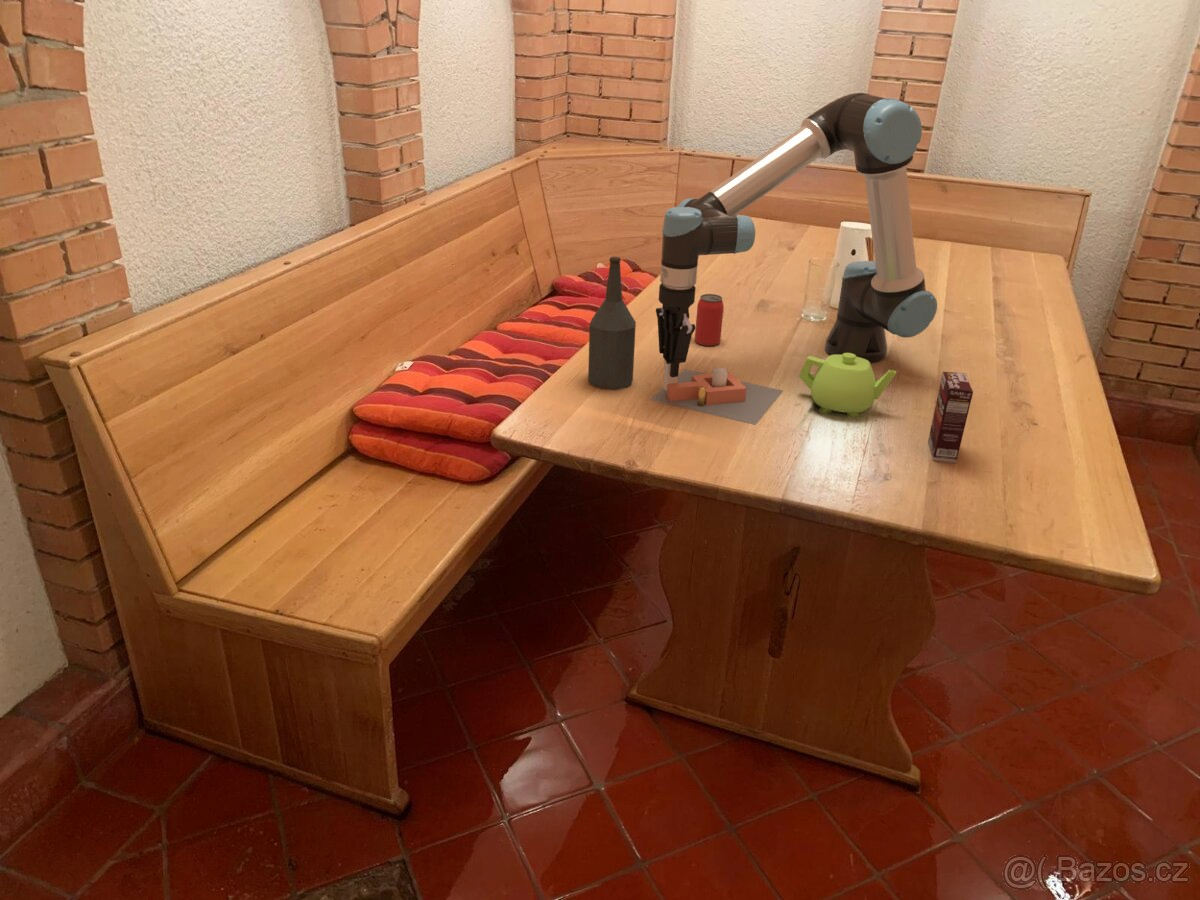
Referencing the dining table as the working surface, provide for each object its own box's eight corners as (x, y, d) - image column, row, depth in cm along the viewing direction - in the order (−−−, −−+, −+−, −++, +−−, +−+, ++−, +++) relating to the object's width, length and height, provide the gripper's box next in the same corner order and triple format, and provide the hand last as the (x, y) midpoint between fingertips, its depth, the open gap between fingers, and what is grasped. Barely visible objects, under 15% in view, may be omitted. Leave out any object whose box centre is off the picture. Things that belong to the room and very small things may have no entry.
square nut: (728, 384, 206) (729, 371, 205) (745, 400, 199) (746, 388, 197) (661, 390, 202) (662, 378, 201) (675, 407, 194) (676, 395, 193)
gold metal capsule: (705, 404, 196) (707, 387, 195) (703, 407, 195) (704, 390, 193) (698, 402, 197) (700, 385, 195) (696, 405, 196) (697, 388, 194)
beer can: (719, 348, 230) (723, 302, 225) (693, 345, 231) (696, 300, 226) (721, 338, 236) (725, 294, 230) (695, 336, 237) (699, 292, 231)
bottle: (600, 398, 201) (604, 266, 187) (580, 382, 209) (583, 253, 195) (640, 391, 205) (647, 261, 191) (619, 375, 213) (625, 249, 199)
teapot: (889, 403, 203) (900, 350, 198) (885, 428, 192) (896, 373, 186) (800, 389, 209) (807, 337, 203) (791, 412, 198) (798, 358, 192)
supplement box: (926, 441, 187) (942, 370, 180) (950, 444, 186) (967, 373, 179) (931, 461, 180) (948, 387, 172) (957, 464, 179) (975, 390, 171)
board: (782, 396, 205) (786, 365, 201) (754, 431, 189) (758, 398, 185) (684, 374, 214) (686, 345, 211) (649, 406, 198) (651, 374, 195)
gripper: (647, 277, 192) (641, 379, 203) (677, 295, 182) (669, 402, 193) (677, 273, 195) (670, 374, 206) (709, 291, 185) (699, 397, 196)
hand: (669, 388), depth 200 cm, fingers closed
